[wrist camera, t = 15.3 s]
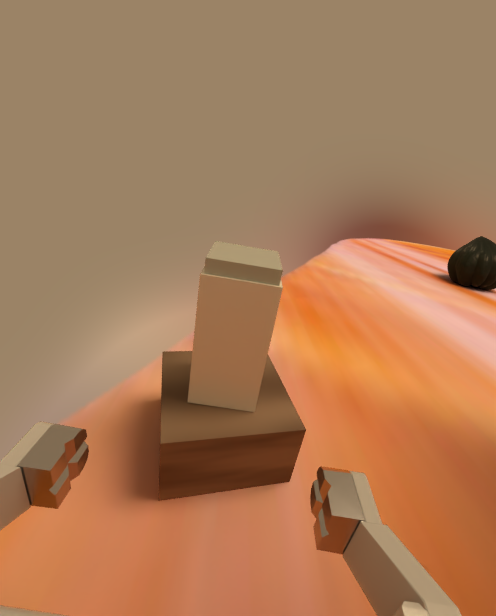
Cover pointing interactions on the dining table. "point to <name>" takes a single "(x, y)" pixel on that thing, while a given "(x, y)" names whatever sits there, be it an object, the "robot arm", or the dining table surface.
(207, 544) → the dining table surface
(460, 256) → the squash
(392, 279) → the dining table surface
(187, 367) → the walnut block
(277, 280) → the tall cream box
